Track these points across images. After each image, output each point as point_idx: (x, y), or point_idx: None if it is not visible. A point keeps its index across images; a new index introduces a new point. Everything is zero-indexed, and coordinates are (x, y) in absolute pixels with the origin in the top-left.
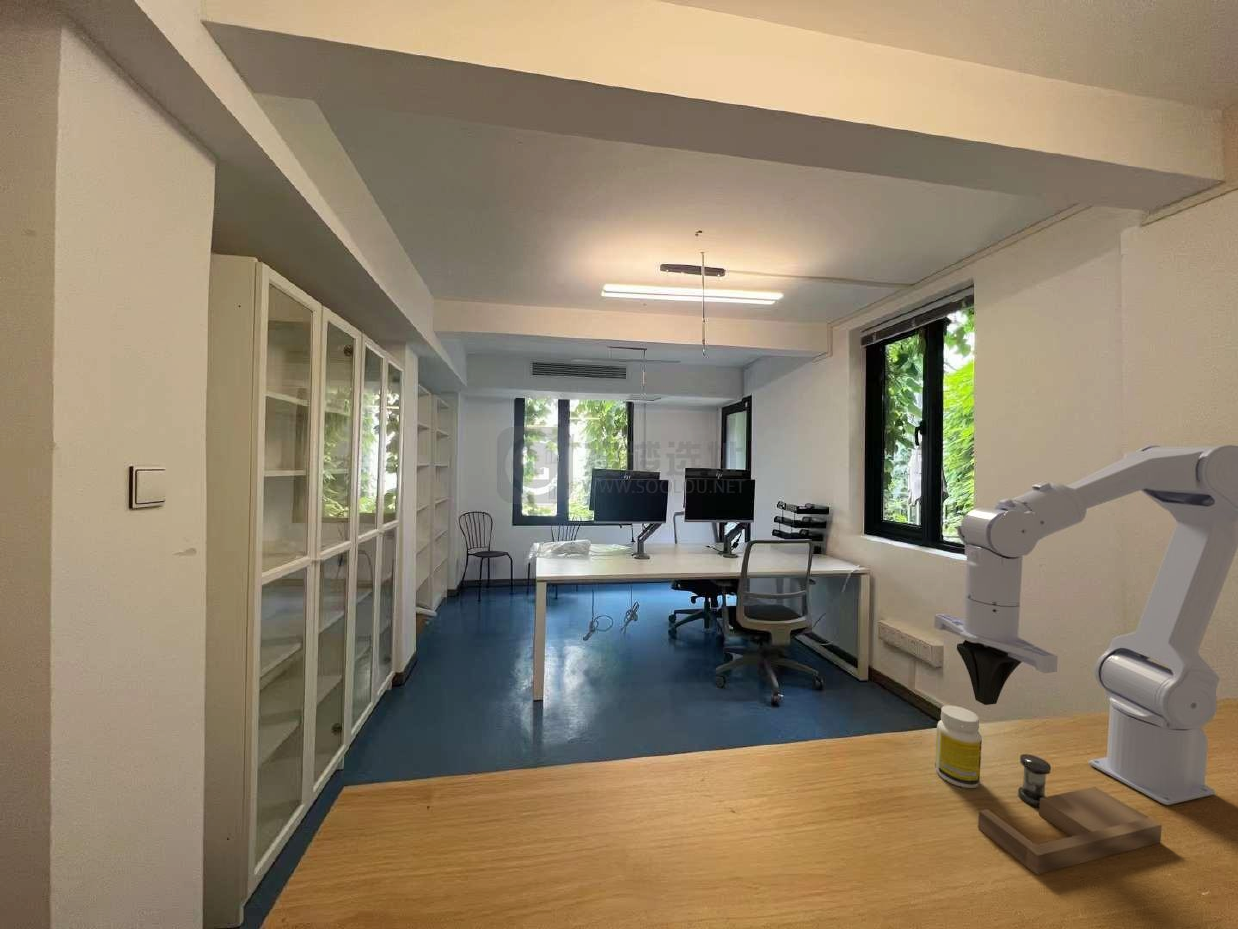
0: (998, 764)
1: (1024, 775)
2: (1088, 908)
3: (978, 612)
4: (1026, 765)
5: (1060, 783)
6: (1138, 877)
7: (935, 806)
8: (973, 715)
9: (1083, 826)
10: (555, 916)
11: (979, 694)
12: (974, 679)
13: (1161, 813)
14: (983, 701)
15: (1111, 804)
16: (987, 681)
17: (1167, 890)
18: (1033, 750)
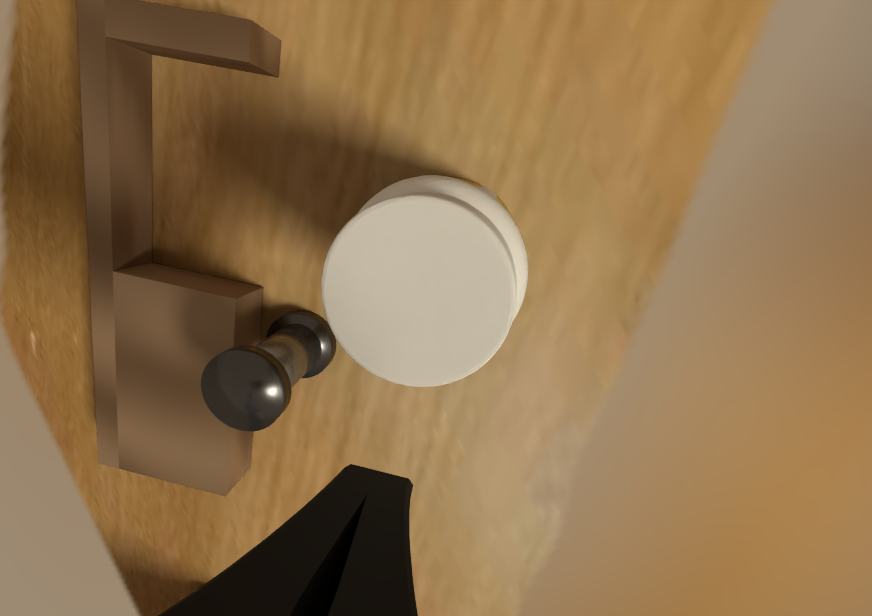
0: (434, 431)
1: (287, 350)
2: (37, 26)
3: None
4: (249, 349)
5: (321, 485)
6: (80, 265)
7: (392, 3)
8: (367, 346)
9: (132, 276)
10: None
11: (358, 497)
12: (360, 583)
13: (189, 552)
14: (344, 471)
15: (169, 448)
16: (206, 583)
17: (47, 278)
18: (430, 585)
